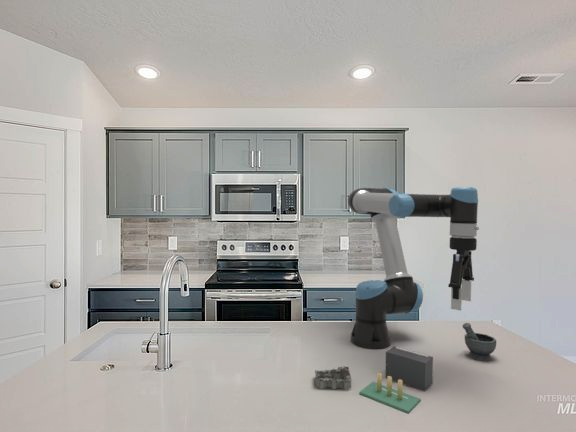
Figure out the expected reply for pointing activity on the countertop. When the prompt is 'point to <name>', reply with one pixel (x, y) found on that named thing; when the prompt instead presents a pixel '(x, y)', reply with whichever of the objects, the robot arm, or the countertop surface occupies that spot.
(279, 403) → the countertop surface
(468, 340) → the mortar and pestle
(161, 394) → the countertop surface
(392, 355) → the block
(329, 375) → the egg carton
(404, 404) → the board
